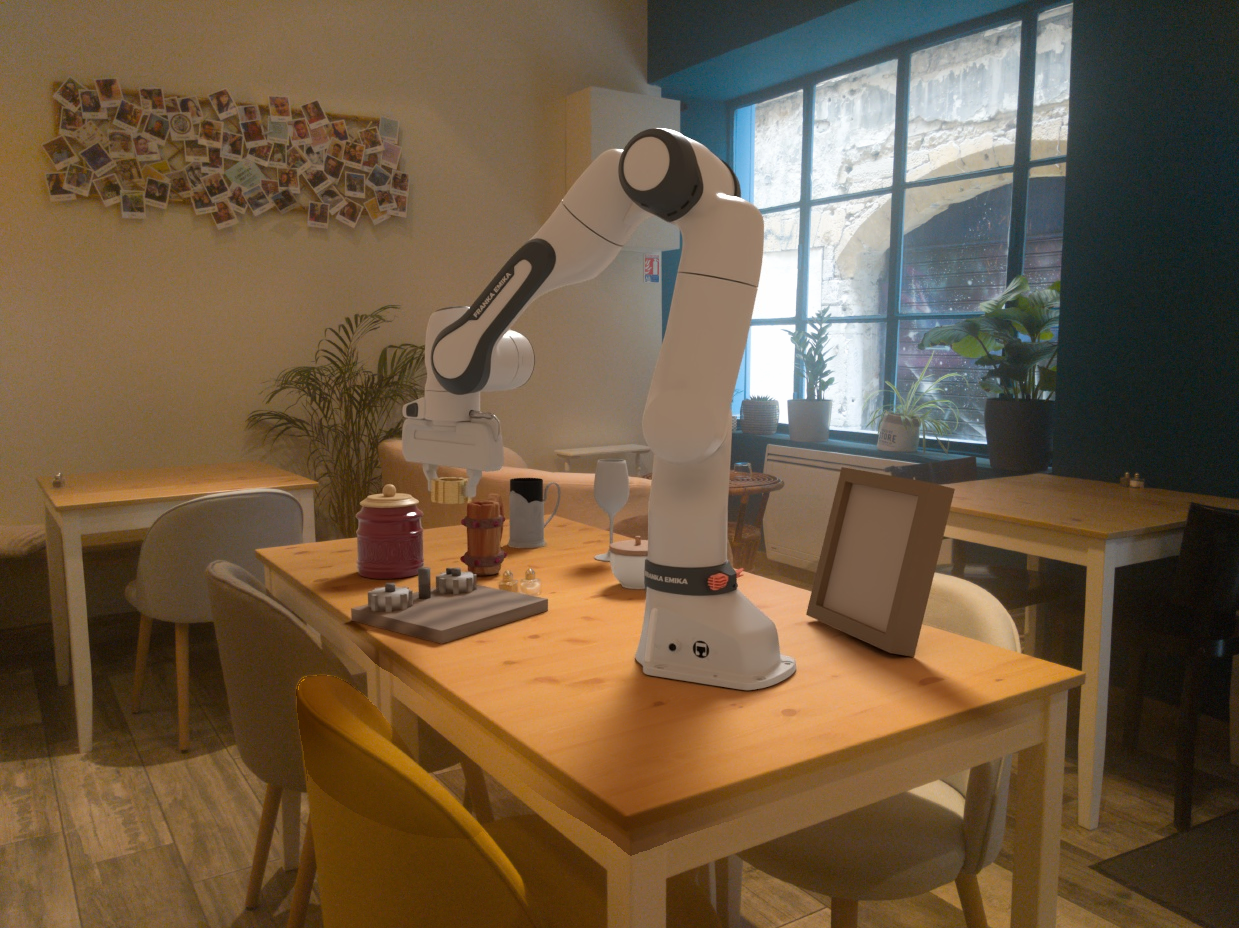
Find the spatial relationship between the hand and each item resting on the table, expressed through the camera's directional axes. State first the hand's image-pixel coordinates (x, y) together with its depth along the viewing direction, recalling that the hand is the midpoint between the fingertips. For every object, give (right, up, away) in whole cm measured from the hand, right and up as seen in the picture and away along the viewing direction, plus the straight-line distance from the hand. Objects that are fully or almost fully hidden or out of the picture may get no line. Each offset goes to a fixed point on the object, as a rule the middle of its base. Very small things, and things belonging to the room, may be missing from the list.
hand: (451, 494), depth 153 cm
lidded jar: (+31, -18, +24) cm, 43 cm away
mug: (+1, -17, +36) cm, 40 cm away
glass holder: (+8, -14, +65) cm, 67 cm away
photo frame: (+68, -22, -7) cm, 72 cm away
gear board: (0, -20, +2) cm, 20 cm away
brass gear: (0, -1, 0) cm, 1 cm away
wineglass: (+25, -15, +49) cm, 57 cm away
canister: (-18, -17, +34) cm, 42 cm away
